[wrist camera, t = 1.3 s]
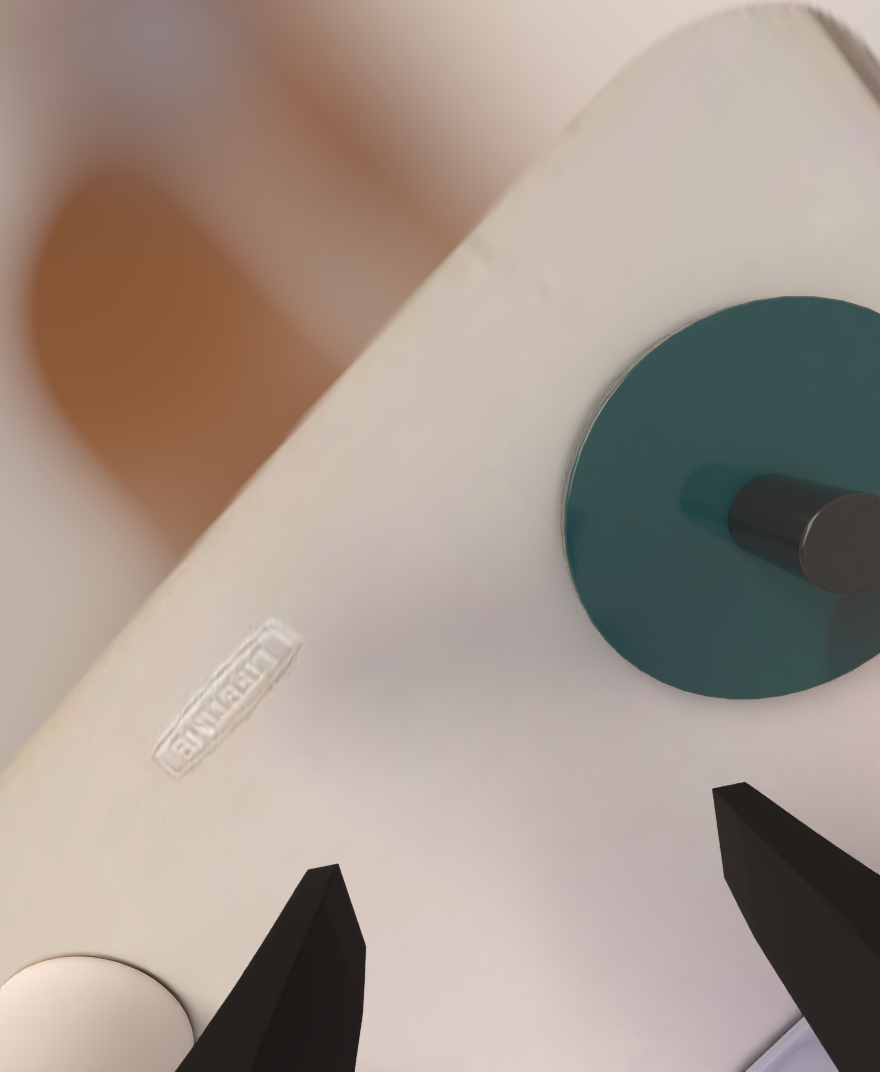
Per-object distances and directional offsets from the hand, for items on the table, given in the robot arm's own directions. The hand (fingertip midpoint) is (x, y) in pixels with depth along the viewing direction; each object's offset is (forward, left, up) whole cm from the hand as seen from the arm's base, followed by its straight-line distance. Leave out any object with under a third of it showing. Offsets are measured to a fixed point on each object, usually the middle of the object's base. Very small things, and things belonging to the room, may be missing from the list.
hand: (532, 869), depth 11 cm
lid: (-4, -9, -9) cm, 13 cm away
